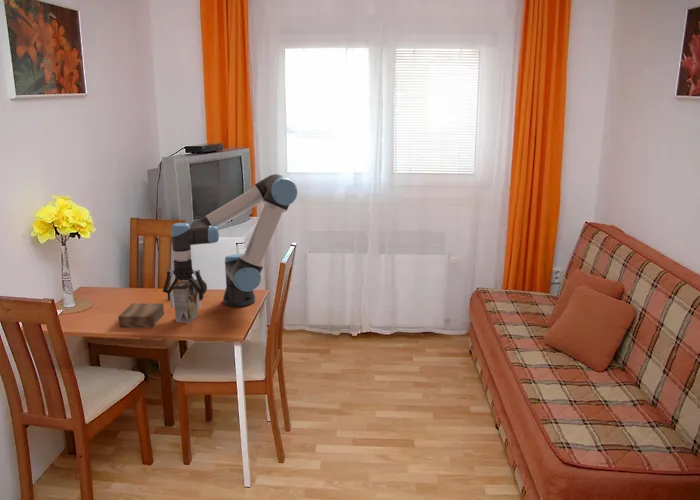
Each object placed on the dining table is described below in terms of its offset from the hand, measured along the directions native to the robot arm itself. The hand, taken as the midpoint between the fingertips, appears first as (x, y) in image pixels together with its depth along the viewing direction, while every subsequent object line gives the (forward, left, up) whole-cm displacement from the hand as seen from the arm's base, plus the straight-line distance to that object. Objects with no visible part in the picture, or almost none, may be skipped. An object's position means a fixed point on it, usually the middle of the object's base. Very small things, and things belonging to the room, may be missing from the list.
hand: (186, 307), depth 259 cm
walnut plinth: (+19, +2, -6) cm, 20 cm away
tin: (+6, -31, -6) cm, 32 cm away
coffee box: (0, 0, -6) cm, 6 cm away
